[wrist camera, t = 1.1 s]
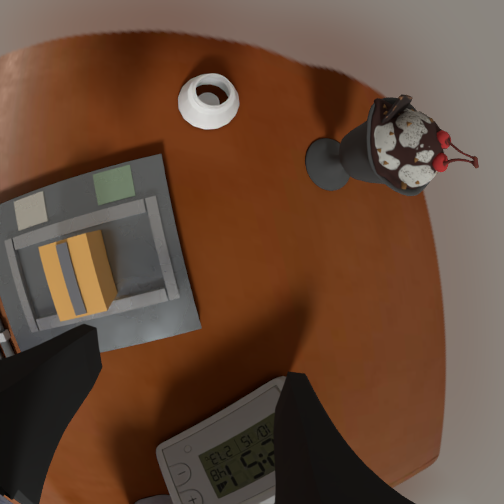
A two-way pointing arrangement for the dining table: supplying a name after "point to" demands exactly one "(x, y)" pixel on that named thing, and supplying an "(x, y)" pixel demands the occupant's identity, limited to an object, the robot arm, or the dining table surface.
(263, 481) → the digital clock
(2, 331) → the cable bundle
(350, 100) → the dining table surface
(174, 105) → the dining table surface
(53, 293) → the cardboard box
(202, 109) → the white hollow cone ring
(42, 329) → the grey metal tray
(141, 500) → the pillar candle
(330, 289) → the dining table surface
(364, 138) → the sundae
